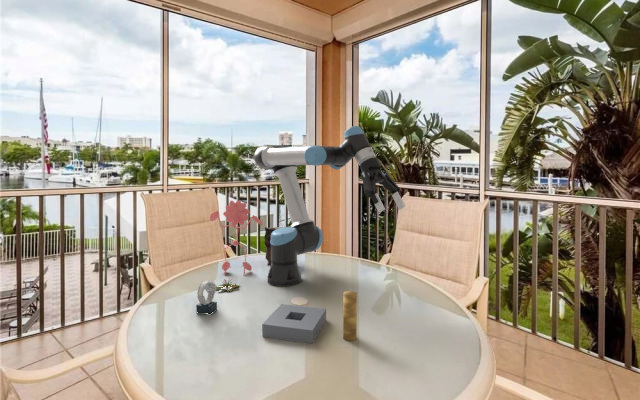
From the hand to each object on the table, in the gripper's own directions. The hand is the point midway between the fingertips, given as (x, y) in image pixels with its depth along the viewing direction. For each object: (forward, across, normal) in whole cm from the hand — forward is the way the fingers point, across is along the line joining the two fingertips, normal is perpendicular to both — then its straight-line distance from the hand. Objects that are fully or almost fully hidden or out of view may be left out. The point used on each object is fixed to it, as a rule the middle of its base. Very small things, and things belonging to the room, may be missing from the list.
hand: (392, 209), depth 132 cm
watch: (+7, -53, +55) cm, 77 cm away
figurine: (-12, -19, +82) cm, 85 cm away
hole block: (+25, -39, +28) cm, 54 cm away
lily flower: (-1, -35, +68) cm, 77 cm away
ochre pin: (+34, -32, +14) cm, 49 cm away
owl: (-10, +4, +78) cm, 79 cm away
